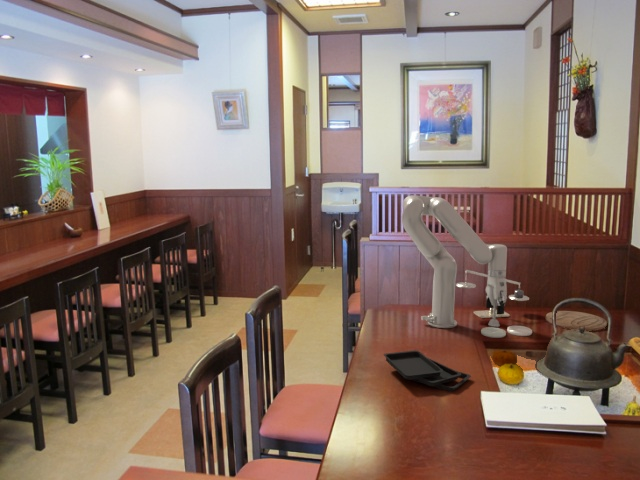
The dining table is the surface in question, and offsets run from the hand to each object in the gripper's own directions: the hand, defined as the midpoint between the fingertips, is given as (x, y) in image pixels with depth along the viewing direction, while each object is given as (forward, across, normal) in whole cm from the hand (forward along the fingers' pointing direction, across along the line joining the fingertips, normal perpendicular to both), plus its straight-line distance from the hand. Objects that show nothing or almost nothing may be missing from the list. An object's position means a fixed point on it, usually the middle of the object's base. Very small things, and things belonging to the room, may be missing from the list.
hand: (494, 310), depth 247 cm
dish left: (+6, -11, +6) cm, 14 cm away
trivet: (+7, -3, -38) cm, 39 cm away
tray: (+7, -49, +52) cm, 72 cm away
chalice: (+7, 0, 0) cm, 7 cm away
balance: (+6, +14, -6) cm, 16 cm away
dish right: (+6, -11, -6) cm, 14 cm away
